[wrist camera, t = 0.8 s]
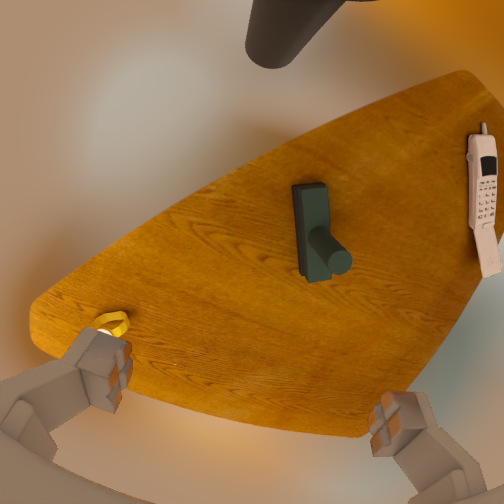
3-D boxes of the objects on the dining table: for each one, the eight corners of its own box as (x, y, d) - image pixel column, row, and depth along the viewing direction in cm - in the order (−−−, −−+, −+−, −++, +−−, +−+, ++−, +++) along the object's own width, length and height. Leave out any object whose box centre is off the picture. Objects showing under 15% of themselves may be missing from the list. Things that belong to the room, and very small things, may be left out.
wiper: (291, 185, 38) (317, 204, 27) (321, 182, 38) (357, 200, 27) (299, 271, 42) (322, 317, 31) (326, 267, 42) (357, 310, 31)
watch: (102, 324, 43) (89, 346, 38) (96, 309, 42) (82, 330, 37) (135, 320, 43) (125, 344, 38) (129, 305, 42) (118, 327, 37)
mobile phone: (482, 281, 39) (487, 123, 30) (461, 267, 45) (462, 122, 36) (502, 272, 39) (509, 125, 30) (482, 259, 45) (484, 122, 36)
